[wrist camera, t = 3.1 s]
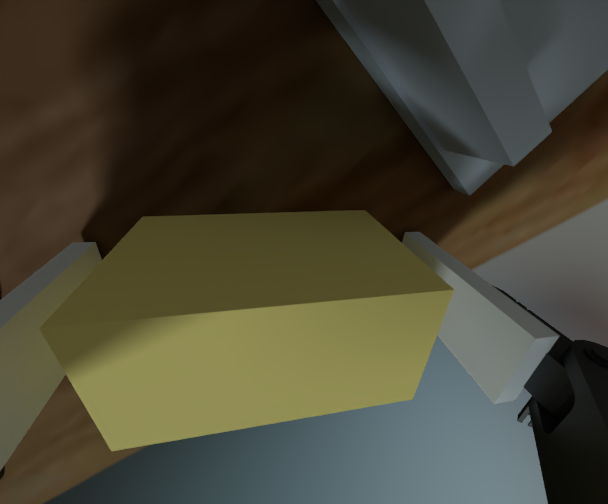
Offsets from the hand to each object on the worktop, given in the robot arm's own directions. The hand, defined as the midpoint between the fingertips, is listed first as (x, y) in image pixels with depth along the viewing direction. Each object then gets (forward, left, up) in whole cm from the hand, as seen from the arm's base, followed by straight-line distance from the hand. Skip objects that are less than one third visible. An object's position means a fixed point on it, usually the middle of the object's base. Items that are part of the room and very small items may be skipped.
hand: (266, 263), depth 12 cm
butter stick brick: (0, 0, 0) cm, 0 cm away
